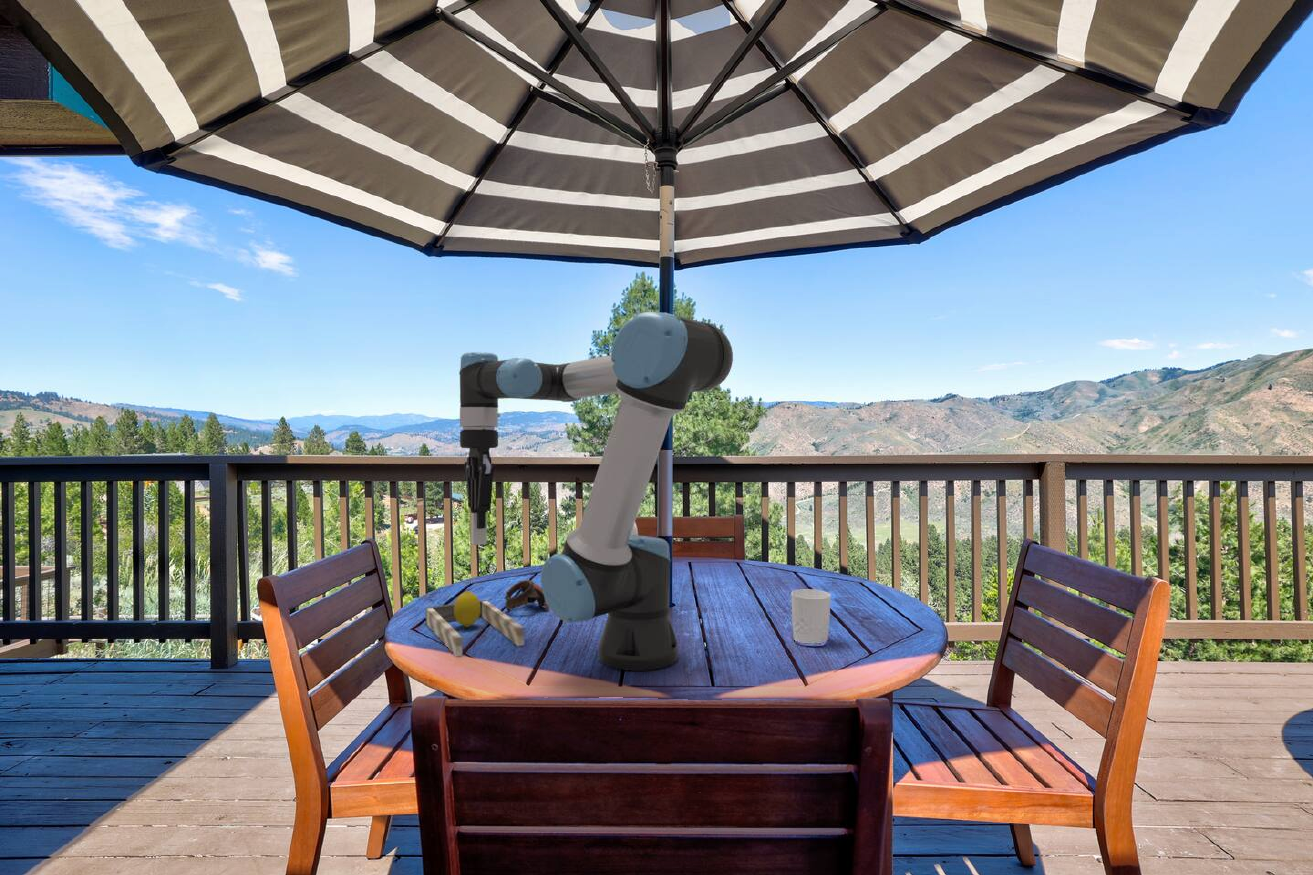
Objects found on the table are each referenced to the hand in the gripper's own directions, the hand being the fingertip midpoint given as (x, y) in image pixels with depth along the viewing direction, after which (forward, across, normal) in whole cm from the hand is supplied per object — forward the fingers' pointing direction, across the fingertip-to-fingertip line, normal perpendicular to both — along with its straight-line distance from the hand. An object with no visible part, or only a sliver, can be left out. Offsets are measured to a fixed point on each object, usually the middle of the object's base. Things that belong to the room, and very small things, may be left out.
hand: (479, 543), depth 135 cm
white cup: (+20, -36, -58) cm, 71 cm away
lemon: (+20, +9, 0) cm, 22 cm away
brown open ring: (+20, +16, -17) cm, 31 cm away
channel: (+20, +4, 0) cm, 20 cm away
